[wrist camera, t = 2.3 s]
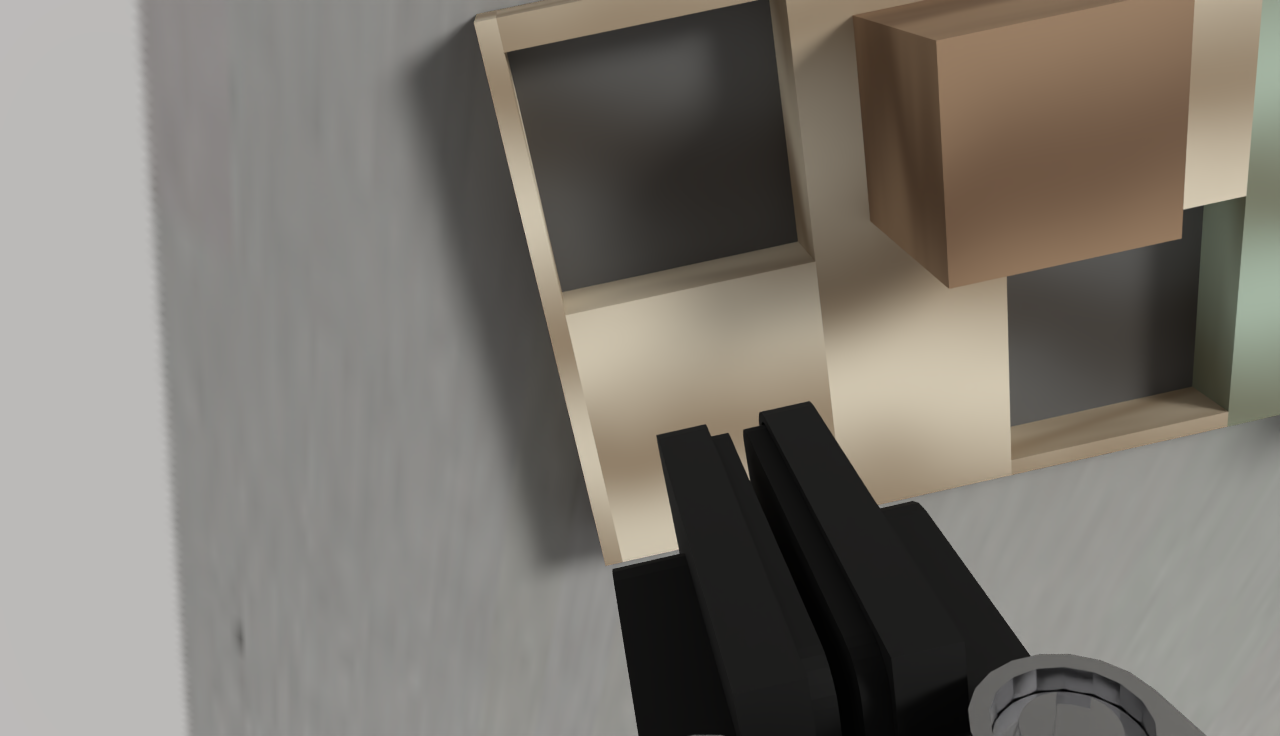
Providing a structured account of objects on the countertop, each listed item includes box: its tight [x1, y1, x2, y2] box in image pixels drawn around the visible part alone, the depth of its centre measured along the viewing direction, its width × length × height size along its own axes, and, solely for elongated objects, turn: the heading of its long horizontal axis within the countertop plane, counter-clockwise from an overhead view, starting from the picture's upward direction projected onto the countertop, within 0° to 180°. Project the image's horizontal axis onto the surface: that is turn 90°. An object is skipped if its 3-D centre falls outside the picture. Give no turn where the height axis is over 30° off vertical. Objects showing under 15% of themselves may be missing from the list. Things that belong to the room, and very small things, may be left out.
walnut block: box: [853, 0, 1195, 289], centre depth 22 cm, size 5×5×5 cm
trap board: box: [474, 0, 1280, 566], centre depth 26 cm, size 15×26×4 cm, turn 102°
